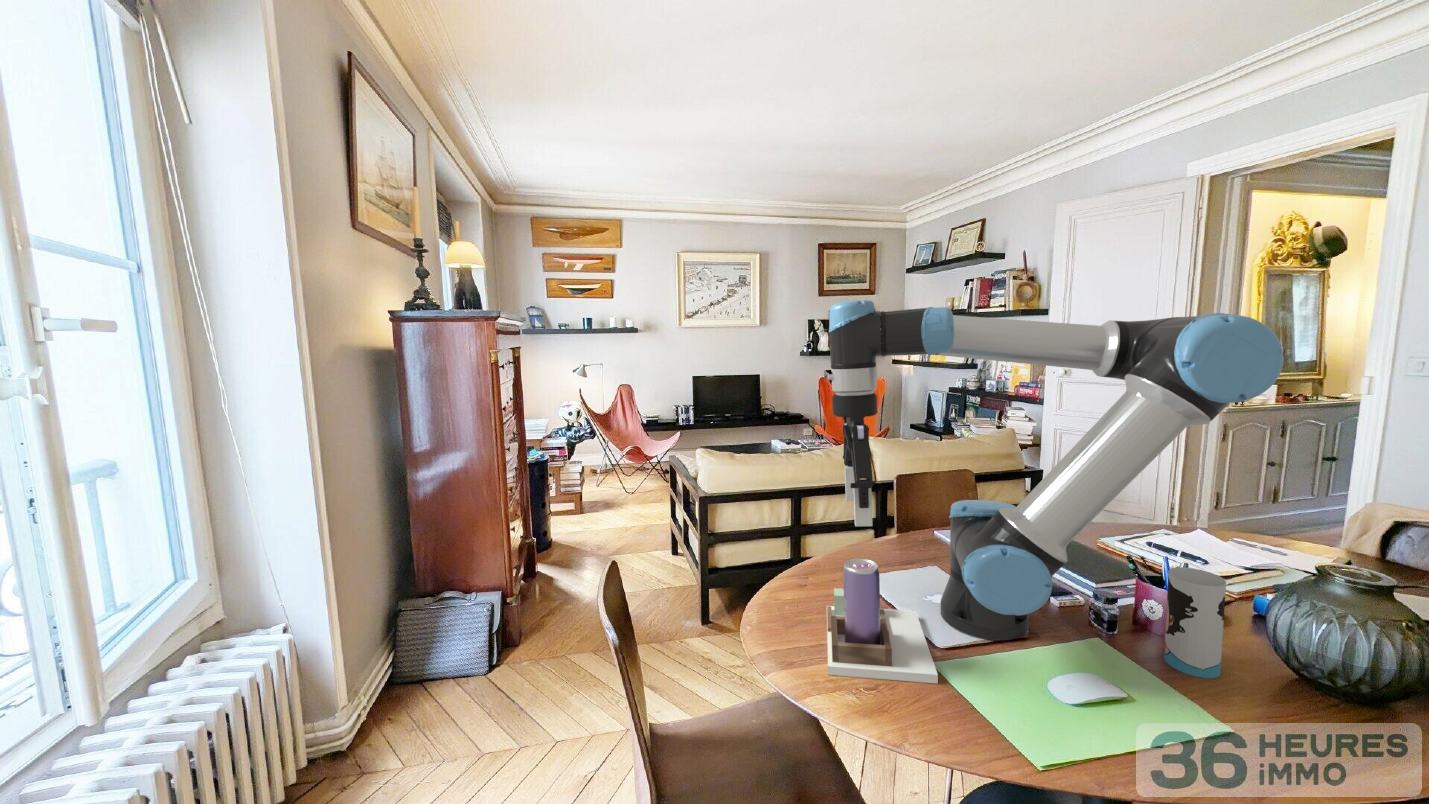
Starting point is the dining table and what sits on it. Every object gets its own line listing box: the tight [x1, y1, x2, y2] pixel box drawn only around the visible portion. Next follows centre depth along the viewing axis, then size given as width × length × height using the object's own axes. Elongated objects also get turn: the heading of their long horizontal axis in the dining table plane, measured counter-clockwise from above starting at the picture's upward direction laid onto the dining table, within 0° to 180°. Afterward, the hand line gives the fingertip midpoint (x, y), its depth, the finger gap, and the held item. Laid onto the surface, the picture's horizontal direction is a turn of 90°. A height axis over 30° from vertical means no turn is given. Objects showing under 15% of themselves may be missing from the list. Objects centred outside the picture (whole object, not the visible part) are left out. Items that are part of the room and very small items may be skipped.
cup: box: [1163, 566, 1227, 679], centre depth 83 cm, size 7×7×15 cm
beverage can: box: [842, 558, 881, 645], centre depth 90 cm, size 6×6×15 cm
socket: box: [831, 616, 892, 667], centre depth 91 cm, size 10×10×3 cm
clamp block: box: [833, 587, 844, 616], centre depth 102 cm, size 8×3×4 cm, turn 78°
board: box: [826, 605, 939, 684], centre depth 94 cm, size 17×20×2 cm
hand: (858, 512), depth 92 cm, fingers open, 13 cm apart
